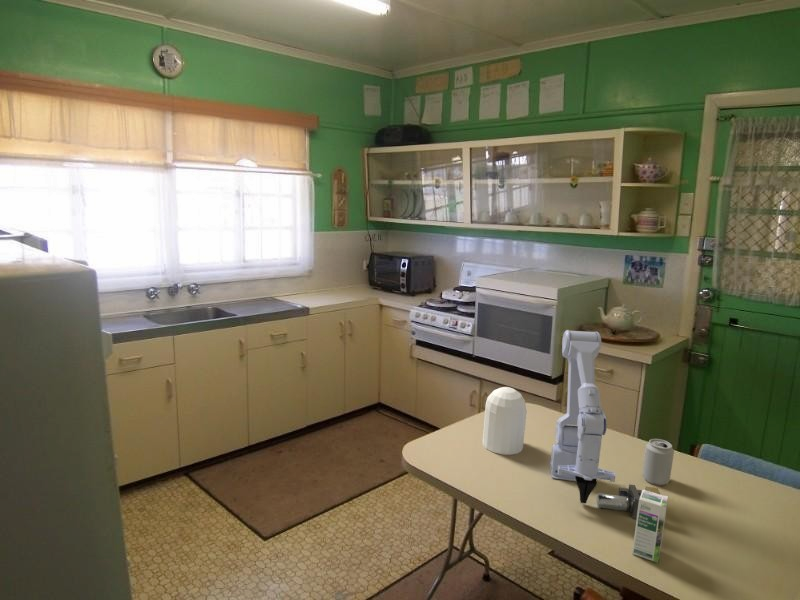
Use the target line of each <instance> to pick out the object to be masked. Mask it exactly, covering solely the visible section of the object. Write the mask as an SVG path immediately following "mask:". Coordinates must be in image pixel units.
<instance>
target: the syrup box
mask: <svg viewBox="0 0 800 600" xmlns="http://www.w3.org/2000/svg"><path fill="white" fill-rule="evenodd" d="M668 499H669V496H668V495H662V494H661V493H660V494H656V493H653V492H650V491H646V490H645V489H642V493H641V496H640V499H639V504H638V512H637V519H635V520H636V523H635V529H634V530H635V531H634V537H633V538H634V539H633V545H632V550H631V554H632V555H633V556H637V557H640V558H644V559H646V560H649V561H651V562H654V563H659V562H658V561H659V559H660V553H661V549H662V542H663V535H664V527H665V522H666V513H667V507H668V506H667V505H668V502H669V501H668Z"/></svg>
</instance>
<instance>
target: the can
mask: <svg viewBox="0 0 800 600" xmlns="http://www.w3.org/2000/svg"><path fill="white" fill-rule="evenodd" d="M674 450H675V449H674V448H673V444H671V443H670V442H669V441H667V440H664V439H660V438H652V439H651V438H650V439H649V441H648V443H646V445H645V451H644V457H643V458H644V459H643V466H642V473H641V475H642V477H643V479H644V480H645V481H646V482H647V483H650V484H653V485H655V486H656V485H657V486H664V485H667V484H669V482H670V480H671V475H672V474H671V473H672V468H673V461H674V455H675V451H674Z"/></svg>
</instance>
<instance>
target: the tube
mask: <svg viewBox="0 0 800 600" xmlns="http://www.w3.org/2000/svg"><path fill="white" fill-rule="evenodd" d="M633 501H634V500H633V498H632V497H627V496H625V497H624V496H618V495H615V494H607V493H601V492H598V493H597V494H596V505H597V508H601V509H609V510H615V511H624V512H627V513H629V512H631V513H632V509H633Z"/></svg>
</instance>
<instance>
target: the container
mask: <svg viewBox="0 0 800 600" xmlns="http://www.w3.org/2000/svg"><path fill="white" fill-rule="evenodd" d="M484 406H485V411H484V419H483V420H484V421H483V432H482V433H483V434H482V446H483V447H484V448H485V449H486V450H487V451H490V452H492V453H495V454H498V455H505V456H507V455H508V456H510V455H517V454H519V453H521V452H522V451H523V449H524V441H525V433H526V432H525V430H526V422H527V405H526V400H525V399H524V397H523V396H522V394H521V392H519V391H518V390H516V389H515V388H512V387H509V386H503V387H502V386H501V387H499V388H497V389H494V390H493V391H492V392H491V393H490V394H489V395H488V396H487V398H486V402H485V405H484Z"/></svg>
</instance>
